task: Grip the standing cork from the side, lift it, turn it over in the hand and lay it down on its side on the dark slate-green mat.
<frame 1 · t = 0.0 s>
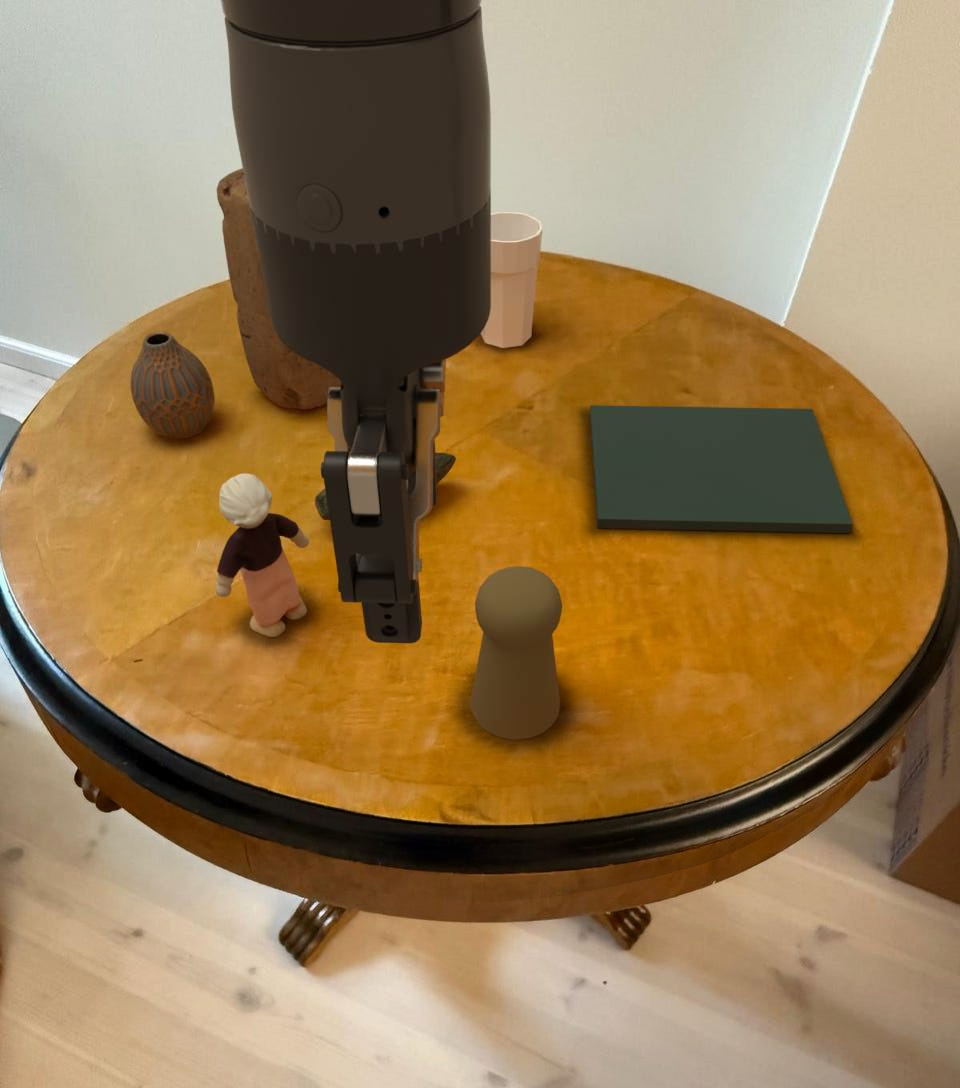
hand: (405, 565, 41), 21 cm above the table, tool pointing down, fingers open, 8 cm apart
vase: (183, 428, 85), on the table
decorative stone: (388, 510, 76), on the table
mat: (710, 469, 79), on the table
block: (315, 387, 89), on the table
plain white apple: (380, 329, 96), on the table
grandmother figurine: (274, 622, 68), on the table
cork: (515, 705, 62), on the table
cup: (505, 336, 95), on the table
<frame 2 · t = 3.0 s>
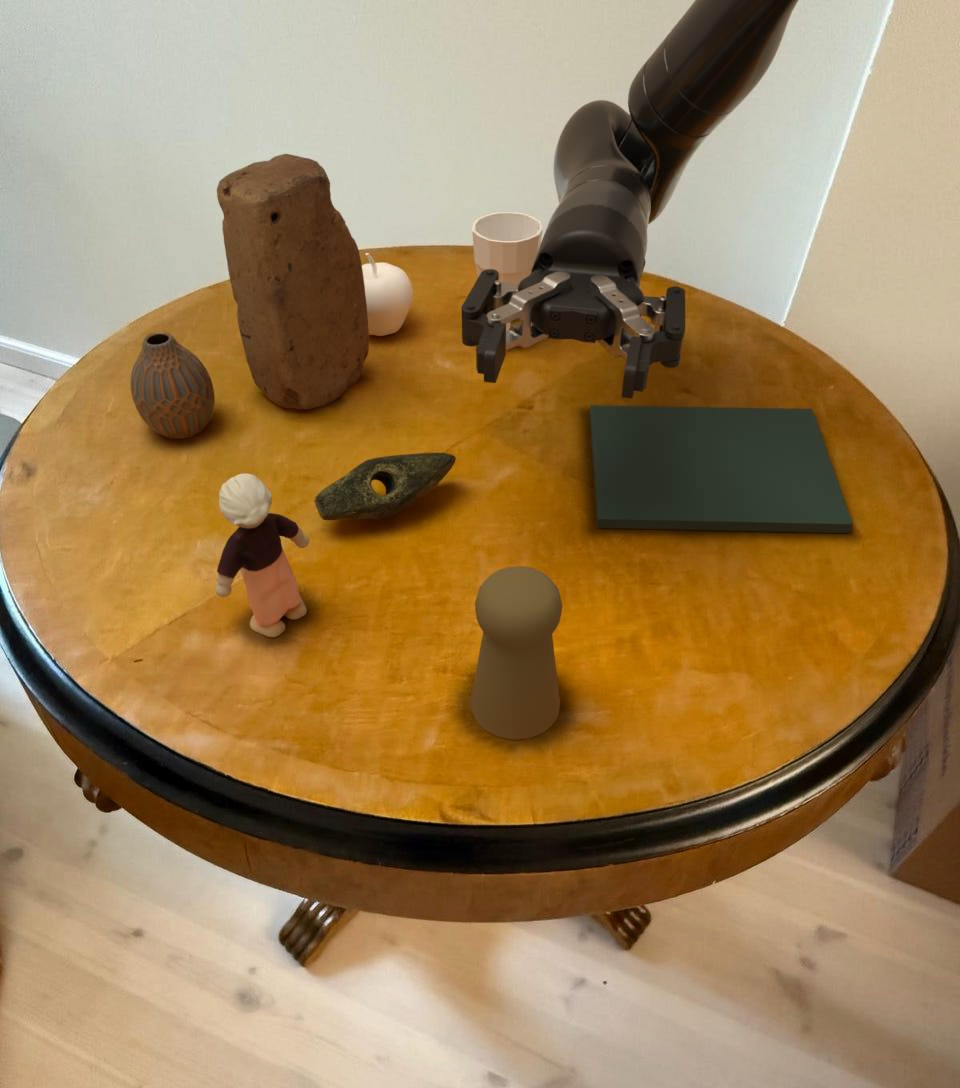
hand: (558, 377, 56), 18 cm above the table, tool horizontal, fingers open, 8 cm apart
nothing on the table moved.
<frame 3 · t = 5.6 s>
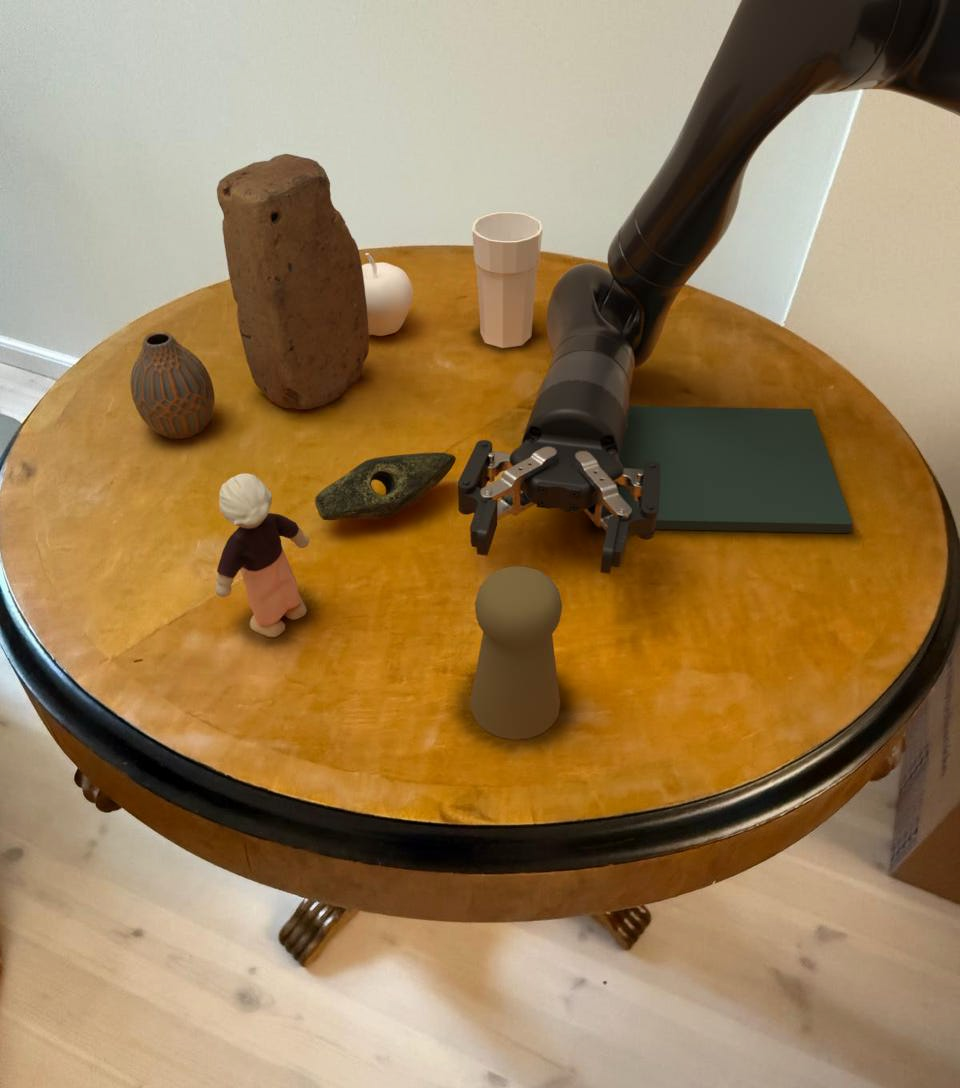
hand: (543, 555, 63), 7 cm above the table, tool horizontal, fingers open, 8 cm apart
nothing on the table moved.
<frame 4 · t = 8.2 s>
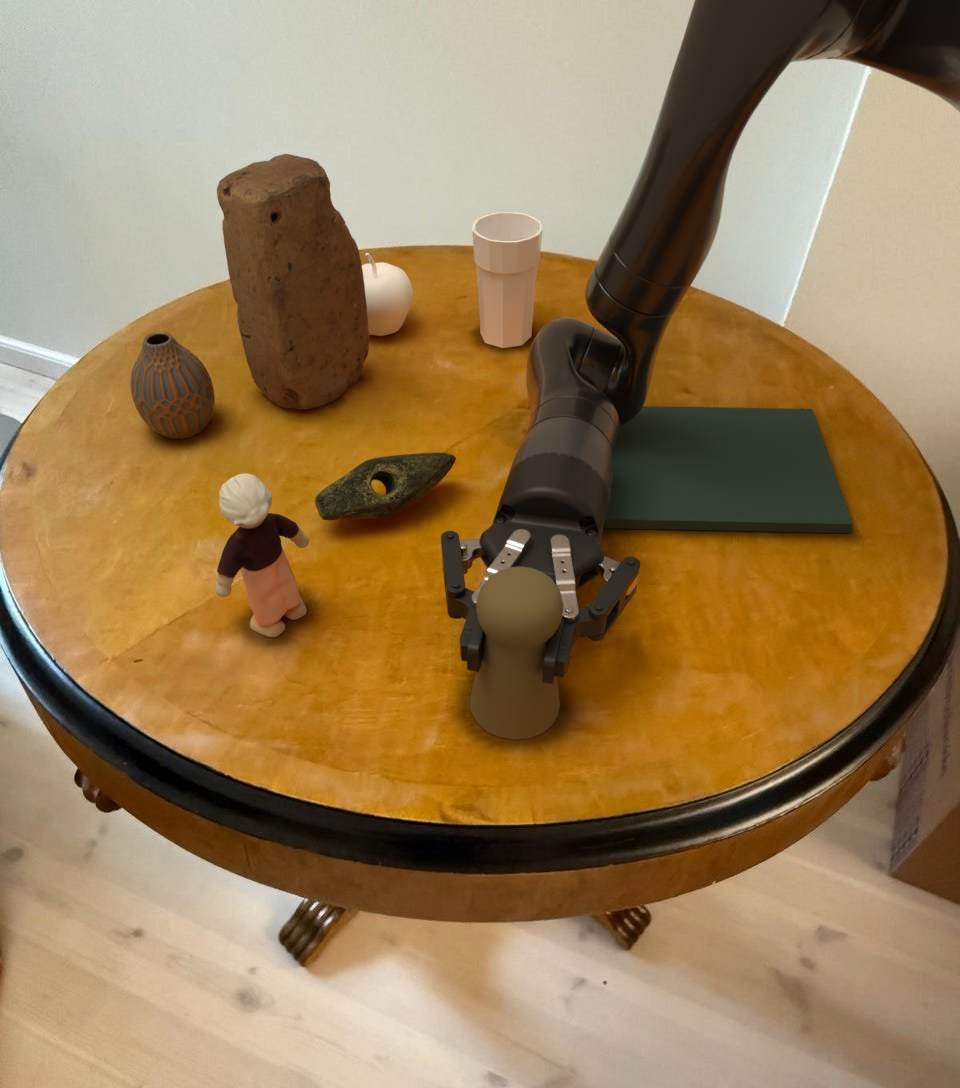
hand: (510, 667, 56), 7 cm above the table, tool horizontal, fingers closed on cork, 4 cm apart
cork: (514, 705, 62), on the table, touching gripper
everything else where it was.
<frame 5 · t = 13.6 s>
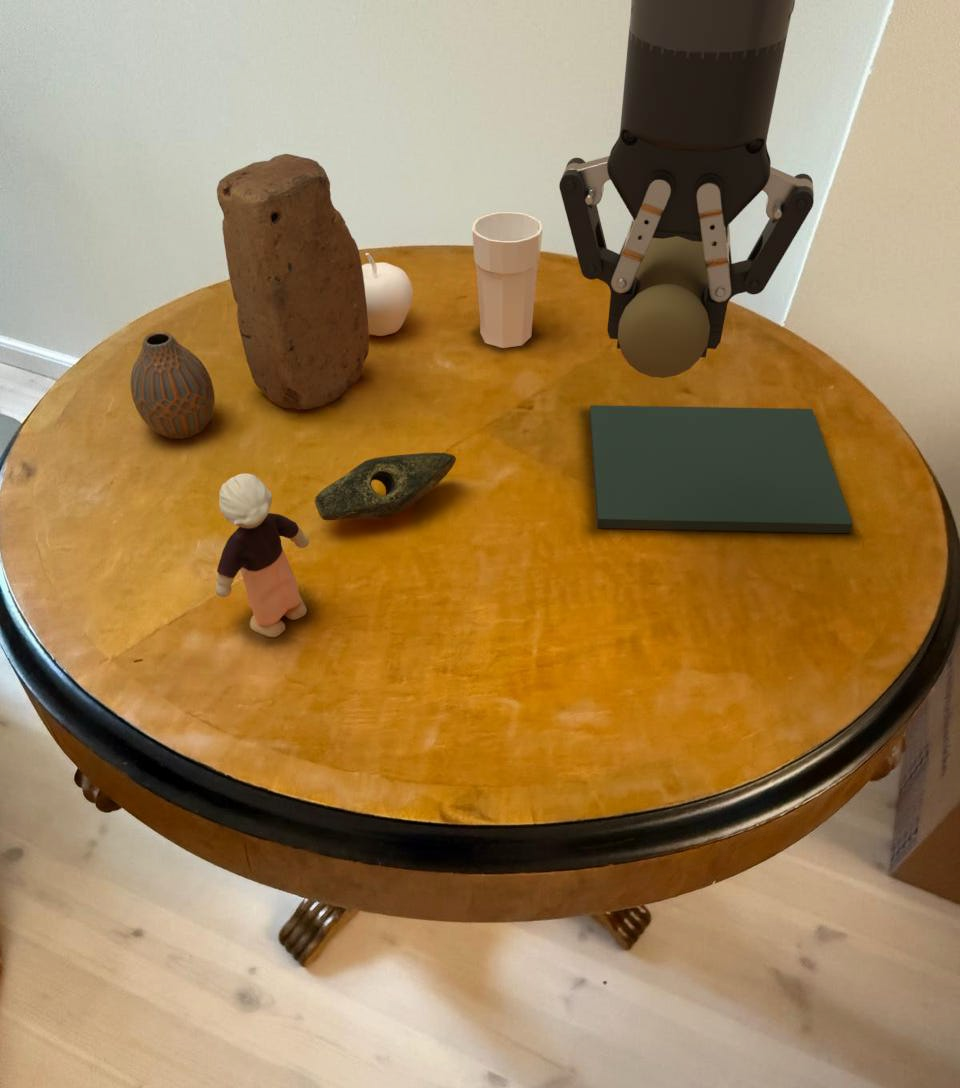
hand: (662, 345, 57), 19 cm above the table, tool pointing down, fingers closed on cork, 4 cm apart
cork: (676, 258, 60), point 21 cm above the table, touching gripper
everything else where it was.
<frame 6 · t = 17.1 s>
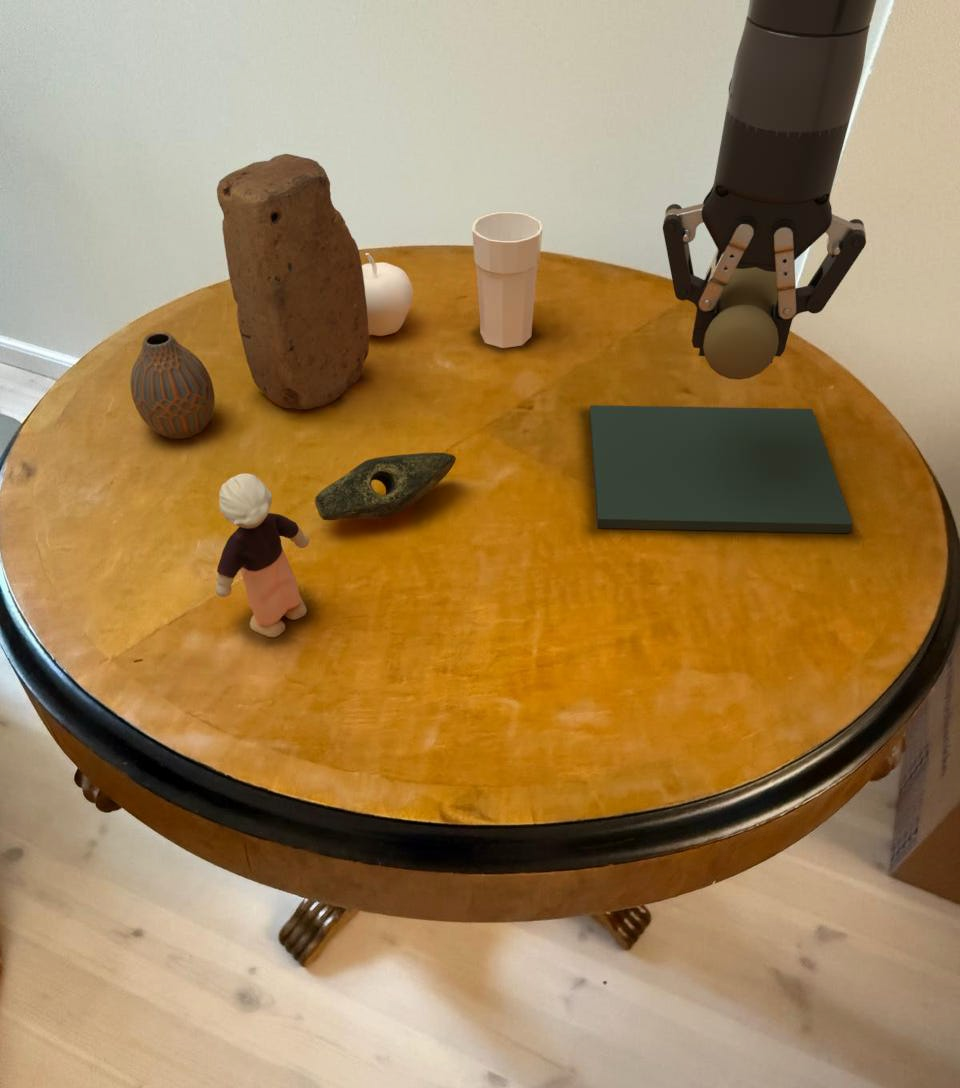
hand: (735, 353, 70), 12 cm above the table, tool pointing down, fingers closed on cork, 4 cm apart
cork: (743, 281, 73), point 14 cm above the table, touching gripper
everything else where it was.
when the fingers open (2 cm above the table, at t = 20.2 s): cork stays where it is, resting on mat.
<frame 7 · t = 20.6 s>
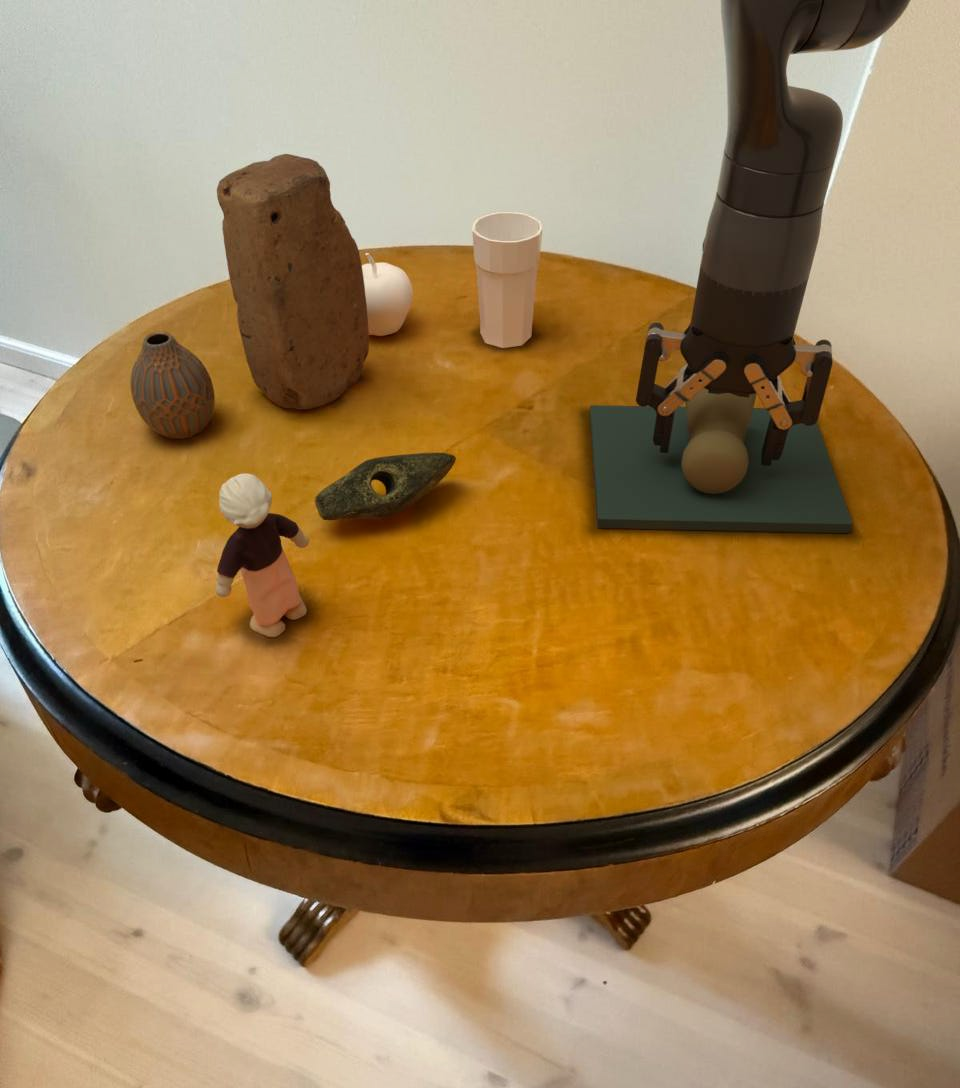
hand: (714, 453, 77), 2 cm above the table, tool pointing down, fingers open, 8 cm apart
cork: (720, 393, 80), point 4 cm above the table, touching mat
everything else where it was.
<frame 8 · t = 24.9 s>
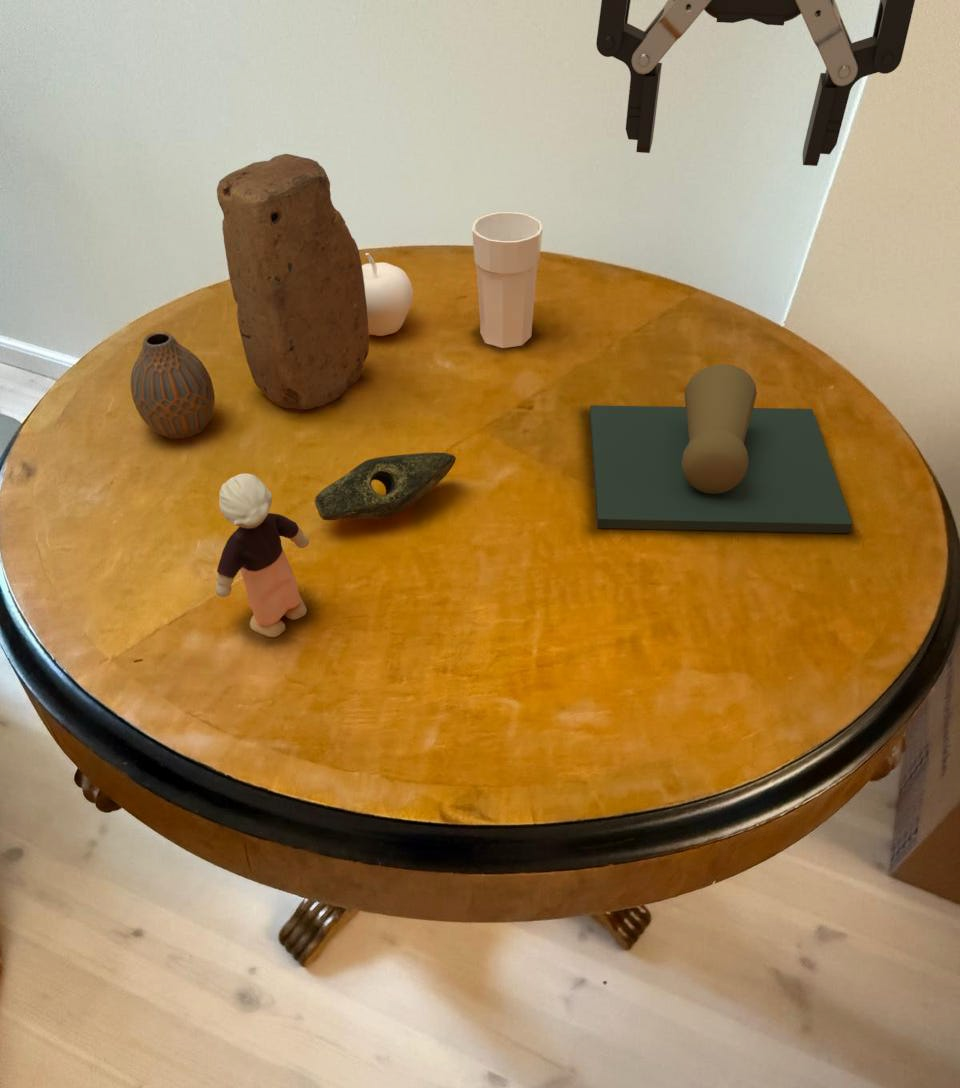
hand: (726, 154, 49), 30 cm above the table, tool pointing down, fingers open, 8 cm apart
nothing on the table moved.
at the end: cork tilted 93°; cork inside the target area on the mat (5.6 cm from its centre), point 4.0 cm above the mat's base; the gripper is holding nothing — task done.
